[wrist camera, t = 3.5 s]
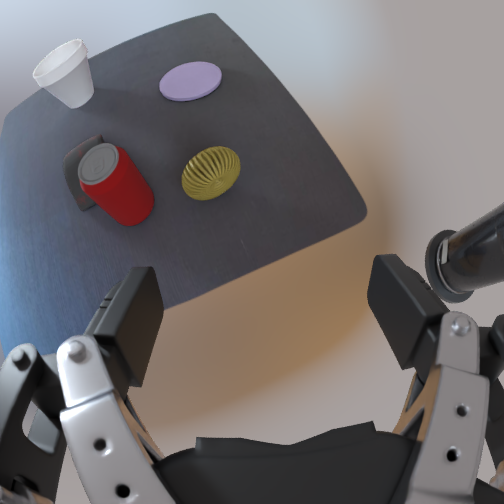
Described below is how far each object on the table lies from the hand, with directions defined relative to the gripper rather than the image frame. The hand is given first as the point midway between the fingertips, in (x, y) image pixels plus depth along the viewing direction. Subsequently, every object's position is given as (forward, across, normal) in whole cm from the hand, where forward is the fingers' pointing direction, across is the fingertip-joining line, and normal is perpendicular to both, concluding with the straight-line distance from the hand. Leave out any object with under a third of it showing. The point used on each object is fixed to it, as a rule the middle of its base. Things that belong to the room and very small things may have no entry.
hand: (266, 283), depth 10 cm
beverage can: (+29, +17, +6) cm, 34 cm away
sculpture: (+30, +5, +4) cm, 31 cm away
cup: (+49, +37, -16) cm, 64 cm away
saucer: (+47, +10, -14) cm, 50 cm away
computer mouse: (+34, +26, 0) cm, 43 cm away
